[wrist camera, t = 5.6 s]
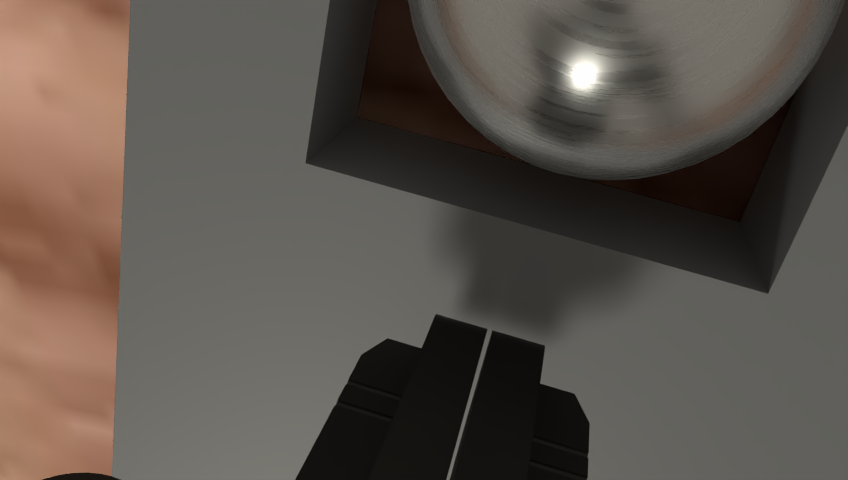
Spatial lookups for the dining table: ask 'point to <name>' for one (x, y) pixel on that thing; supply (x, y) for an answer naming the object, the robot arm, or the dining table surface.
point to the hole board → (452, 265)
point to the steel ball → (620, 75)
